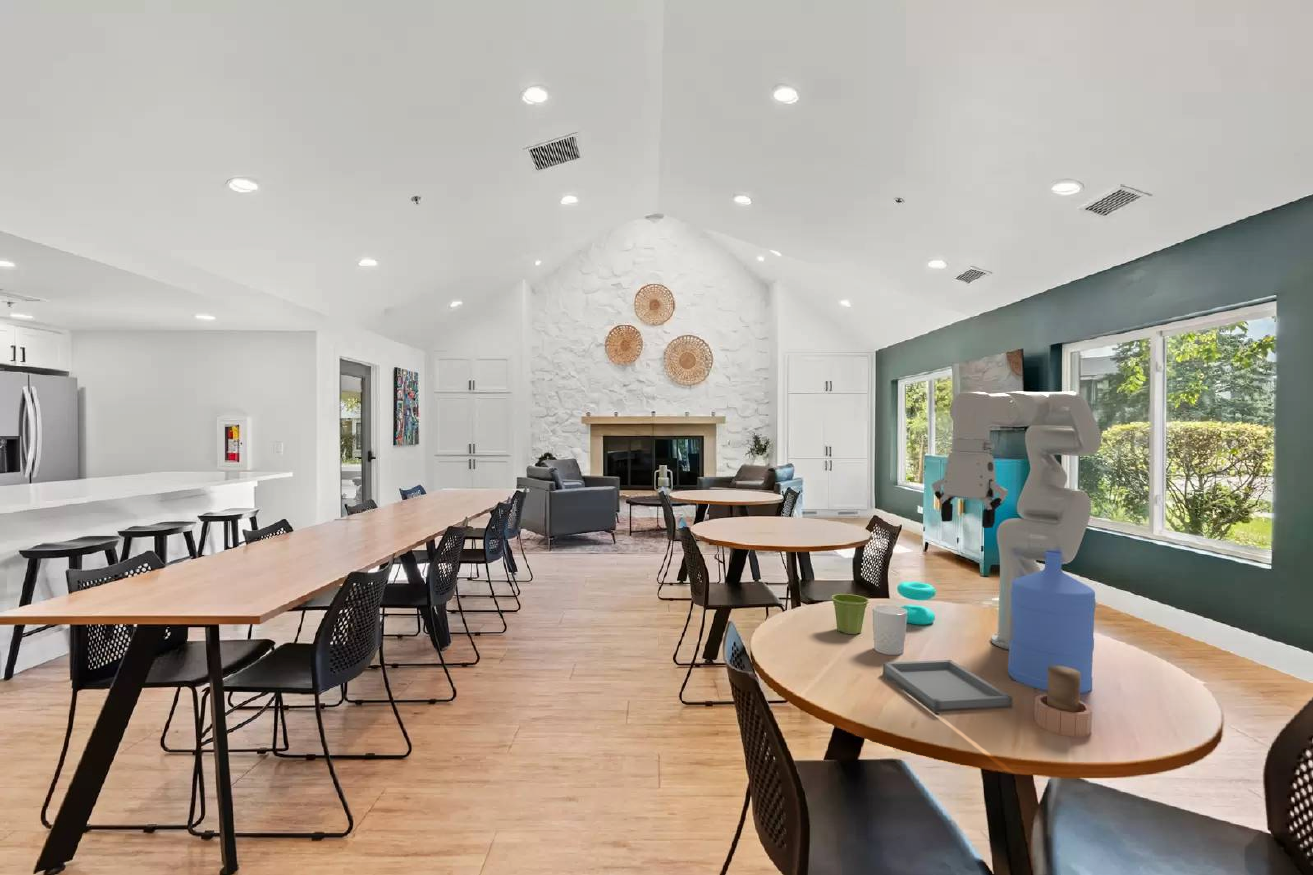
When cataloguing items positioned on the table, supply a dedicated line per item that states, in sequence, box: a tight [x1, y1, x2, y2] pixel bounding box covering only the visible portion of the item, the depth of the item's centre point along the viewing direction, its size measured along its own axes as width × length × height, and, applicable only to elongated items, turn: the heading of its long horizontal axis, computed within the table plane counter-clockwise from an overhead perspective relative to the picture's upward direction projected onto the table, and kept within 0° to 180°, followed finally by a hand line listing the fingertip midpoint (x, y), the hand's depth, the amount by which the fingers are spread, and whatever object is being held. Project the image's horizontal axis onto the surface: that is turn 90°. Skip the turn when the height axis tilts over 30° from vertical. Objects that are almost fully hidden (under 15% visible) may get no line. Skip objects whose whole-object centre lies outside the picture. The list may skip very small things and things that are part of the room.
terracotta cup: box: [1033, 693, 1093, 738], centre depth 121 cm, size 9×9×4 cm
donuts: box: [896, 581, 937, 626], centre depth 186 cm, size 10×10×10 cm
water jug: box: [1007, 551, 1097, 694], centre depth 143 cm, size 16×16×28 cm
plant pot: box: [831, 593, 870, 635], centre depth 175 cm, size 9×9×9 cm
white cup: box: [872, 604, 908, 656], centre depth 161 cm, size 8×8×10 cm
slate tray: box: [882, 659, 1013, 715], centre depth 137 cm, size 16×20×2 cm
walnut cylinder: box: [1046, 666, 1081, 713], centre depth 121 cm, size 5×5×10 cm
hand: (966, 524), depth 149 cm, fingers open, 9 cm apart
